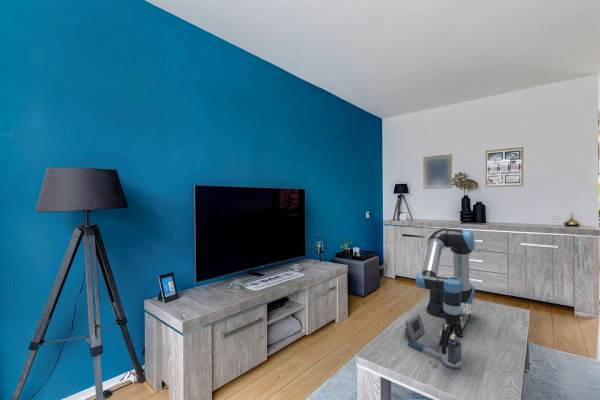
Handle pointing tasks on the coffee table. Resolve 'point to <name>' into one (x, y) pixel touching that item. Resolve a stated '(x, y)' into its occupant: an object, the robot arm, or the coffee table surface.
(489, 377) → the coffee table surface
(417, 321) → the digital clock
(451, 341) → the socket
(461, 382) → the coffee table surface
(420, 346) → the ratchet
